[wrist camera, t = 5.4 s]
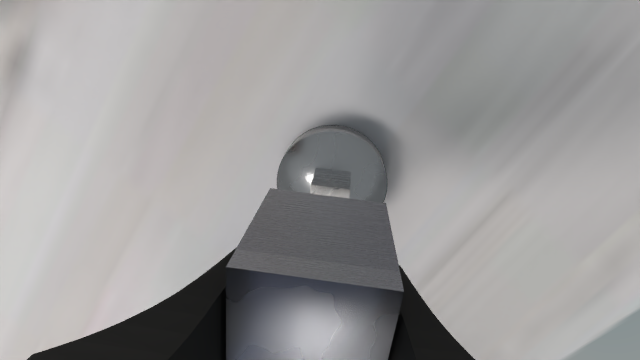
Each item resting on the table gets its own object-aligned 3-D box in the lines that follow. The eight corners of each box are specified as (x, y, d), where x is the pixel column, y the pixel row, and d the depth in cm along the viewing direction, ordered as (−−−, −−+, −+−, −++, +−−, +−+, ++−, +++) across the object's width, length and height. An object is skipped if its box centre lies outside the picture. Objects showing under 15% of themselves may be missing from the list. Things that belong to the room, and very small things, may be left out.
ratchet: (354, 338, 26) (355, 387, 23) (272, 326, 27) (258, 373, 23) (393, 132, 20) (402, 153, 16) (285, 119, 20) (269, 136, 17)
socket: (367, 296, 15) (374, 413, 10) (265, 282, 15) (226, 390, 10) (385, 203, 13) (404, 291, 8) (270, 188, 13) (225, 267, 9)
